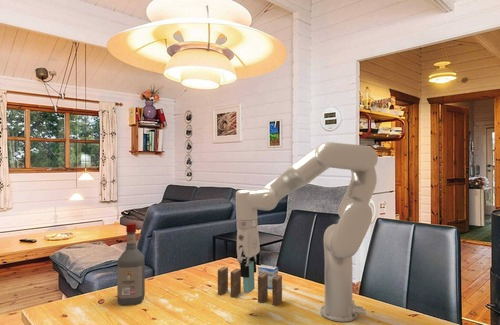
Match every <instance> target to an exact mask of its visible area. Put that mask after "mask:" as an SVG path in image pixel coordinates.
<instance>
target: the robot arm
mask: <svg viewBox="0 0 500 325" xmlns="http://www.w3.org/2000/svg"><path fill="white" fill-rule="evenodd" d="M378 159H379V156H378V153H377V152H376V150H375V149H374V148H373V147H371V146H369V145H364V144H363V145H362V144H351V143H339V142H335V141H334V142H332V141H331V142H329V141H328V142H324V143H321V144H319V145H318V146H316V147H315V148H313V149H312V150H311V151H309V152H308V153H307V154H306V155H304V156H303V157H302V158H300V159H299V160H297V161H296V162H295V163H293V164H292V165H291V166H290V167H288V168H287V169H286V170H284V172H283V173H281V174H280V175H278V176H277V177H276V178H274V179H273V180H272V181H271V182H269V183H268V184H266V185H265V186H263V187H262V188H261V189H260V190H259V189H258V190H255V189H252V188H247V189H245V188H244V189H243V188H242V189H238V190H237V191H236V192H235V211H236V212H235V213H236V215H235V216H236V229H237V232H236V256H237V258H236V261H237V262H238V264H239V266H240V268H239V269H240V271H241V278H243V277H246V278H249V266H248V261H254V274H256V273H257V255H258V254H259V253H260V251H261V247H260V235H259V229H258V228H259V227H258V210H260V211H272V210H273V209H275V208H276V207H277V205H278V204H279V201H281V200H282V199H283V198H285V197H286V196H287V195H290V193H292V192H294V191H295V190H297V189H301V188H303V187H305V186H307V185H308V184H309V183H311V182H312V181H314V180H315V179H316V178H317V177H319V176H320V175H322V173H323V174H324V172H325V171H327V170H329V169H330V168H333V169H338V170H339V169H340V170H348V171H350V172H351V178H350V180H349V184H348V186H347V189H346V191H345V193H344V195H343V197H342V200H341V201H340V203H339V205H338V208H337V213H338V217H339V219H338V223H333V224H331V225H329V226H328V227H327V228H326V229H325V231H324V234H323V250H324V251H323V252H324V305H322V306H321V307H320V310H319V311H320V315H321V316H322V317H324V318H325V319H328V320H330V321H333V322H340V323H341V322H342V323H344V322H352V321H354V320H356V319H357V318H358V315H363V316H366V312H367V311H366V308H364V306H361V305H357V304H355V300H353V256H355V255H356V253H357V252H358V251H359V249H360V247H361V245H362V243H363V241H364V239H365V237H366V235H367V232H368V231H369V228H370V226H371V224H372V220H373V211H372V208H371V205H369V204H370V201H371V199H372V196H373V194H374V191H375V189H376V187H377V186H376V185H377V182H378V181H377V180H378V179H377V171H376V168H375V166H376V165H377V164H378Z"/></svg>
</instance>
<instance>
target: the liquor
mask: <svg viewBox="0 0 500 325" xmlns="http://www.w3.org/2000/svg"><path fill="white" fill-rule="evenodd" d="M125 225H126V226H125V227H126V228H125V230H126V247H125V250H124V251H123V252H122V254H121V255H120V256H119V258H118V260H117V262H116V263H117V264H116V267H117V272H116V274H117V282H116V284H117V285H116V288H117V290H116V292H117V304H118V305H120V306H122V307H123V306H137V305H139V304H141V303H143V301H144V297H145V295H146V294H145V293H146V288H145V287H146V284H145V282H146V281H145V280H146V279H145V277H146V275H145V274H146V270H145V269H146V268H145V266H146V265H145V264H146V263H145V262H146V260H145V255H144V254H143V252H142V251H140V250H139V248H138V247H137V244H136V243H137V242H136V241H137V240H136V232H137V223H135V222H130V223H126V224H125Z"/></svg>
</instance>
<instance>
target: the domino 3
mask: <svg viewBox="0 0 500 325" xmlns="http://www.w3.org/2000/svg"><path fill="white" fill-rule="evenodd" d="M248 266H249V278H246V277H242V285H243V286H242V287H243V288H242V289H243V290H242V291H243V294H251V292H253V291H254V290H255V273H254V261H249V260H248Z"/></svg>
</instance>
